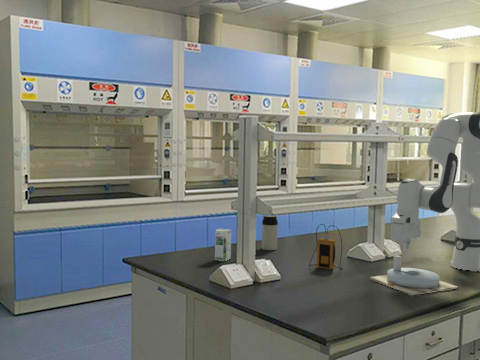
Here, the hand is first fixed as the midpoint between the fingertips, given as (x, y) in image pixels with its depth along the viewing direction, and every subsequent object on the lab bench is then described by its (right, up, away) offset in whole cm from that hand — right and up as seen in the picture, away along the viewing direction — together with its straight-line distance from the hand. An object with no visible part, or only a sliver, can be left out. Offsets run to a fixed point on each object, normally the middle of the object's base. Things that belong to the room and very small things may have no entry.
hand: (405, 249), depth 213 cm
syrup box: (-78, -8, +25) cm, 82 cm away
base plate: (0, -13, -9) cm, 15 cm away
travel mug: (-55, -7, +50) cm, 75 cm away
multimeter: (-30, -10, +17) cm, 36 cm away
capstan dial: (0, -11, -9) cm, 14 cm away
